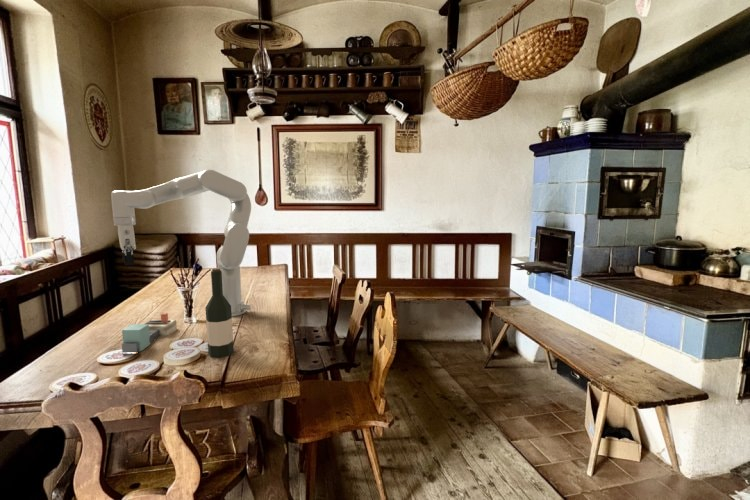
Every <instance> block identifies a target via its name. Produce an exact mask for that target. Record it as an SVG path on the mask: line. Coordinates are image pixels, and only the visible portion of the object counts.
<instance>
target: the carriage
mask: <svg viewBox="0 0 750 500" xmlns="http://www.w3.org/2000/svg"><path fill="white" fill-rule="evenodd" d="M121 335H122V343H124V342H138V346H139V352H141V351H143V350H145V349H146V348H147V347H148V346H150V345H151V343H150V342H149V338H150V333H149V324H145V323H143V324H142V323H140V324H139V323H137V324H136V323H135V324H133V323H132V324H130V325H128V326H127V327H125V328H123V329H122V330H121Z"/></svg>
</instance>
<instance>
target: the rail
mask: <svg viewBox="0 0 750 500" xmlns="http://www.w3.org/2000/svg"><path fill="white" fill-rule="evenodd" d="M149 333H150V338H149V342H150V344H152V343H153V342H154V340H155V339H156V340H157V339H159V338H160V337H161V336H160V332H159V329H151V330H150V331H149ZM158 337H159V338H158ZM156 340H155V341H156ZM151 342H152V343H151ZM121 351H122V352H139V353H140V351H139V346H138V342H124V343H123V342H122V343H121Z"/></svg>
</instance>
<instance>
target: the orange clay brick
mask: <svg viewBox="0 0 750 500" xmlns="http://www.w3.org/2000/svg"><path fill="white" fill-rule="evenodd" d="M160 320H161V322H168V320H169V313H167V312H166V313H165V312H164V313H163V312H162V313H160Z"/></svg>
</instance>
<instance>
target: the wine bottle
mask: <svg viewBox="0 0 750 500" xmlns="http://www.w3.org/2000/svg"><path fill="white" fill-rule="evenodd" d="M210 277H211V280H210V281H211V292H212V293H211V297H210V299H209V301H208V302H207V305H206V306H205V321H206V338H207V350H208V351H207V352H208V354H207V355H208V356H209V357H210V358H214V359H215V358H218V359H219V358H223V357H224V358H225V357H228V356H229V357H230V356H231V355H232V354H233V353H234V352H235V351H234V350H235V349H234V333H233V331H234V330H233V316H232V312H231V305H230V304H229V302H228V301H227V300H226V298H225V297H224V296H223V287H222V271H221V270H220V268H218V267H216V268H215V267H213V268H212V269H211V271H210Z"/></svg>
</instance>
